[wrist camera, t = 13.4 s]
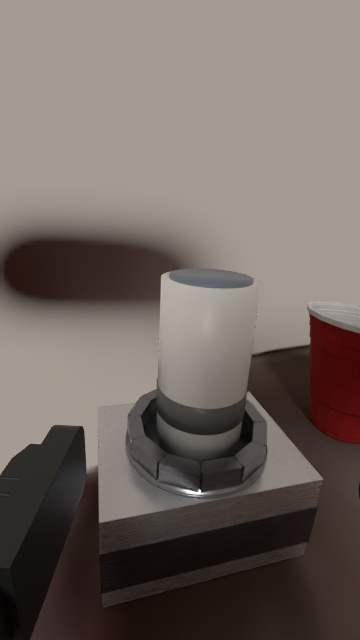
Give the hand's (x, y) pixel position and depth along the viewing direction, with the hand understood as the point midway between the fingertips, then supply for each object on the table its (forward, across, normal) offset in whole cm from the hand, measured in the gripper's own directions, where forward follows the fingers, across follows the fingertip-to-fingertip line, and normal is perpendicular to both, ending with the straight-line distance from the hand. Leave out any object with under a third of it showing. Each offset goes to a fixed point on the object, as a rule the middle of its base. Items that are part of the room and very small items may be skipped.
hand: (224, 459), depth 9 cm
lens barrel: (+9, 0, +7) cm, 11 cm away
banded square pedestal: (+9, 0, +13) cm, 16 cm away
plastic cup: (+20, -16, +13) cm, 28 cm away
